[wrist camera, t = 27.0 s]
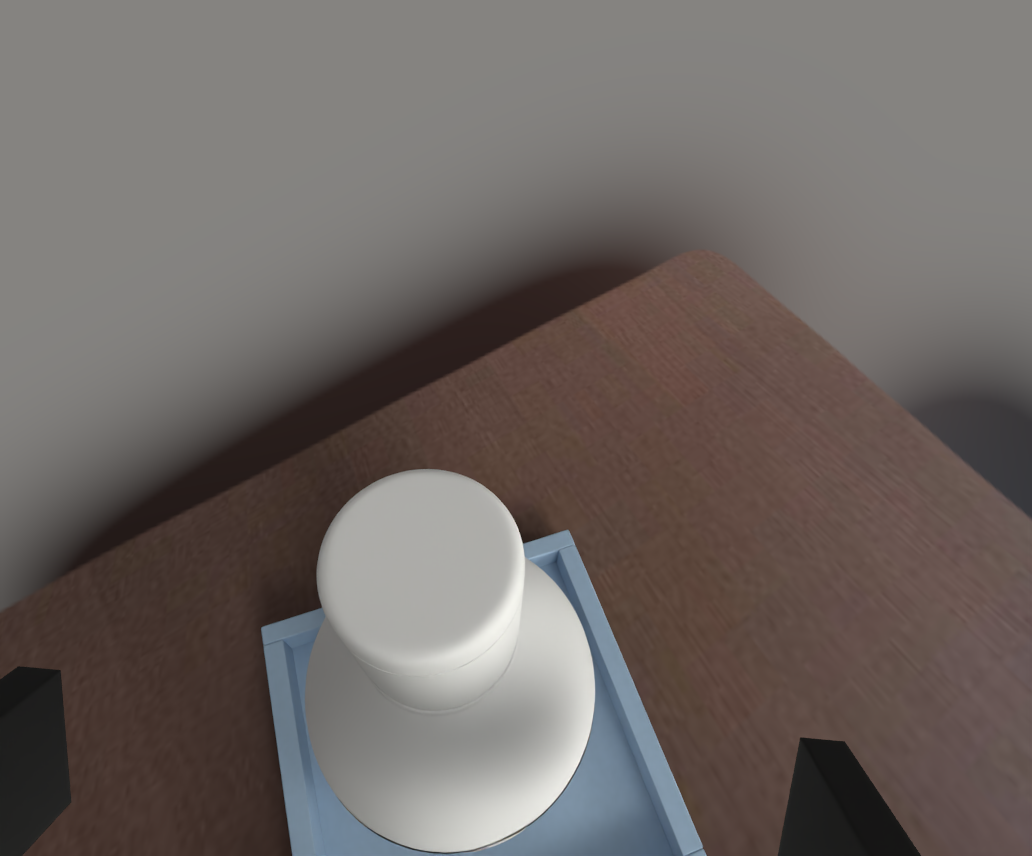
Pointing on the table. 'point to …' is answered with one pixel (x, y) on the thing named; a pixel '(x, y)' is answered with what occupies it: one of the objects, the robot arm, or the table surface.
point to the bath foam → (443, 668)
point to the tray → (581, 807)
